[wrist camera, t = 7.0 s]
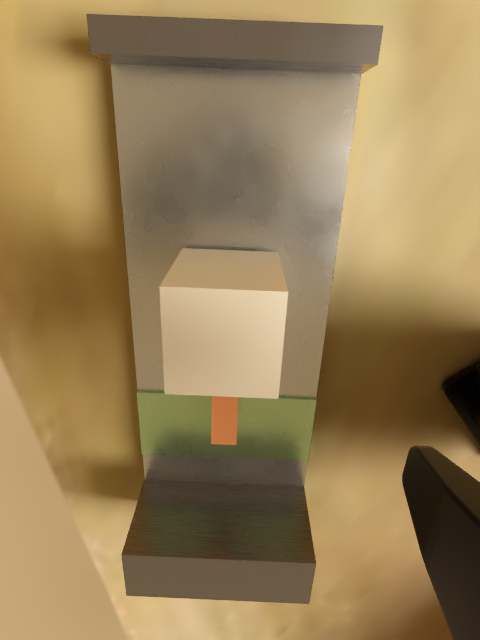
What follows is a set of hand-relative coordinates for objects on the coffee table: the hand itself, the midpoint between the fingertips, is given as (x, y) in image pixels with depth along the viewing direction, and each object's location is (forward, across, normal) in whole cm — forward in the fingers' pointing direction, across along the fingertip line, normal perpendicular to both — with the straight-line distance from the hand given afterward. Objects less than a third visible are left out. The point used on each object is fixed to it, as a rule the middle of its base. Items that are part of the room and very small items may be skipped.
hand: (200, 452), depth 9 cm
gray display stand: (+11, 0, +3) cm, 11 cm away
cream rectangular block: (+10, 0, +3) cm, 10 cm away
